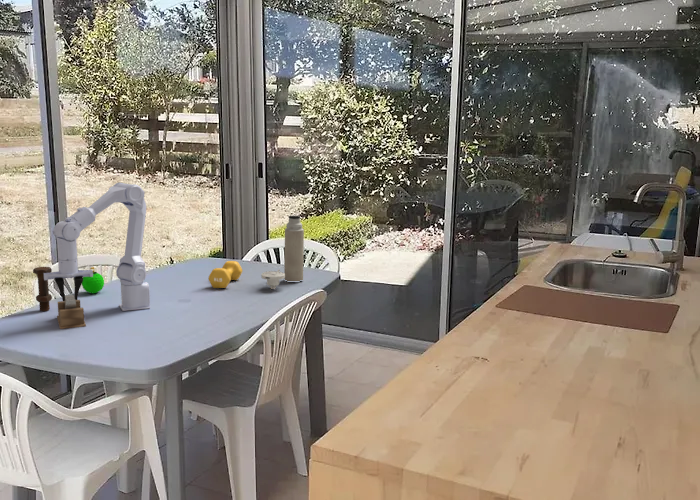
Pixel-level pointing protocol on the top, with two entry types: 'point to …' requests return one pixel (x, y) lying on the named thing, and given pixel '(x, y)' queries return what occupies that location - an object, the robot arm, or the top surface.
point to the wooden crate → (70, 316)
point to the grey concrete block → (70, 302)
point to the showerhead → (273, 278)
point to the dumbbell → (225, 274)
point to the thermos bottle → (294, 249)
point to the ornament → (93, 282)
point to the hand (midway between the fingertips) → (69, 299)
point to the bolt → (43, 288)
